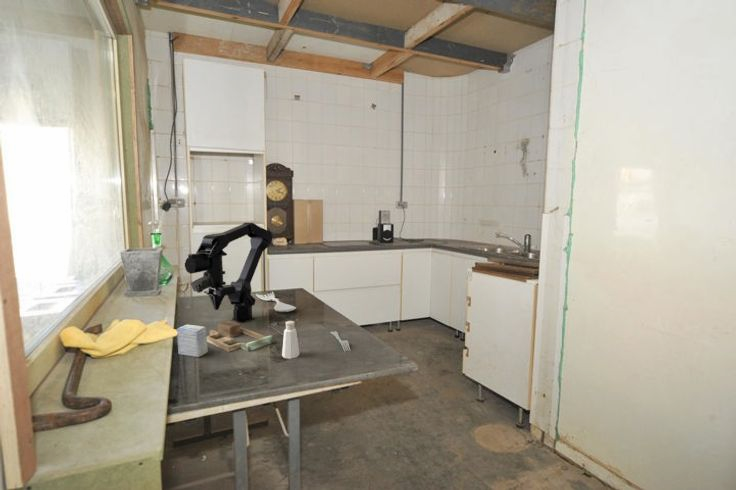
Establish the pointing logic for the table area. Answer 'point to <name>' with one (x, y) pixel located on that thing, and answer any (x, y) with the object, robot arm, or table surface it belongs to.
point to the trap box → (228, 342)
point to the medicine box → (192, 340)
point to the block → (229, 329)
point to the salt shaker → (290, 341)
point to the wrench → (276, 327)
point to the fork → (341, 340)
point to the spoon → (279, 306)
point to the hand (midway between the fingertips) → (216, 309)
